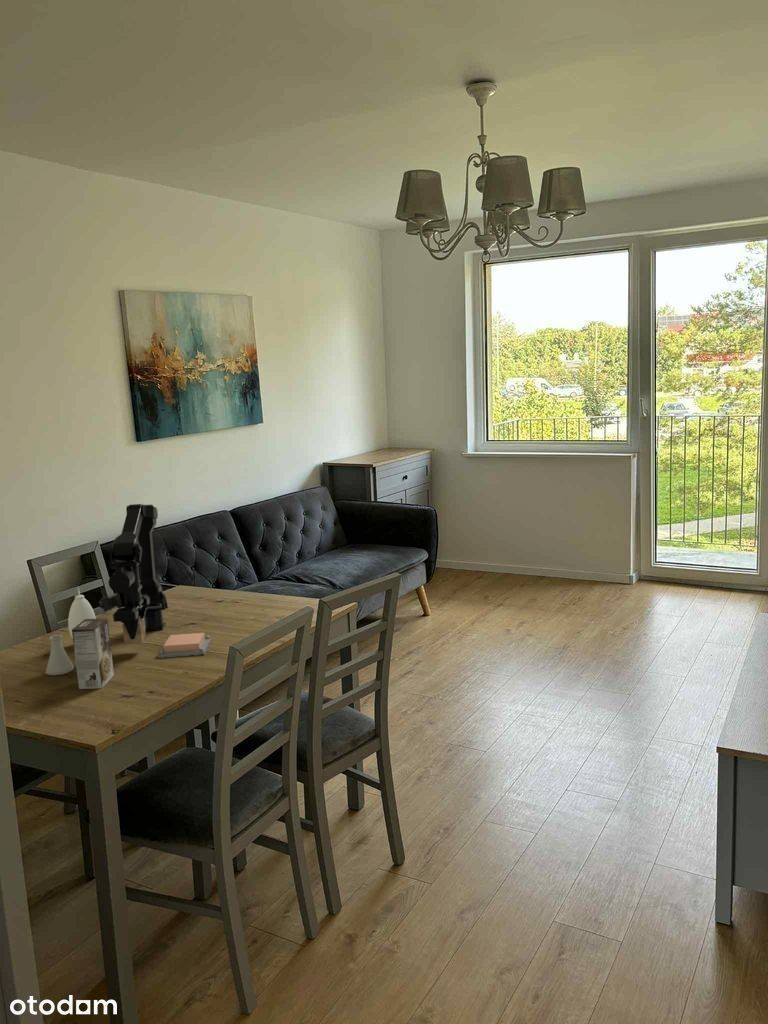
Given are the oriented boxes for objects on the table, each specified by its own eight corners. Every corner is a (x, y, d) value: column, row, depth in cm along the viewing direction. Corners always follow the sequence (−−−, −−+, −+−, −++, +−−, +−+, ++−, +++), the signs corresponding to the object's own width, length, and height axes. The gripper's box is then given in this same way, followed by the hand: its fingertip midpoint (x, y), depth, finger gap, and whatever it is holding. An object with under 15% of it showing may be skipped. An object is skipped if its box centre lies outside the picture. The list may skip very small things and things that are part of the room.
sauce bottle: (87, 649, 242) (80, 591, 240) (65, 648, 245) (58, 590, 242) (104, 641, 250) (97, 584, 247) (83, 640, 252) (76, 583, 249)
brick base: (167, 643, 244) (166, 633, 244) (211, 640, 245) (210, 630, 244) (158, 658, 231) (157, 647, 231) (204, 654, 232) (203, 644, 232)
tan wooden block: (128, 639, 239) (126, 619, 238) (146, 638, 239) (144, 618, 239) (124, 644, 234) (122, 624, 233) (142, 643, 235) (140, 623, 234)
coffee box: (91, 676, 219) (84, 618, 217) (115, 675, 219) (108, 617, 216) (77, 689, 210) (70, 629, 208) (102, 688, 210) (95, 628, 207)
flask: (64, 676, 220) (59, 641, 219) (40, 676, 222) (35, 640, 220) (79, 667, 227) (75, 632, 226) (55, 666, 229) (51, 632, 227)
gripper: (109, 578, 243) (115, 628, 245) (91, 594, 224) (97, 648, 227) (147, 575, 243) (152, 625, 246) (132, 591, 225) (138, 645, 228)
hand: (134, 636), depth 237 cm, fingers closed on tan wooden block, 5 cm apart
